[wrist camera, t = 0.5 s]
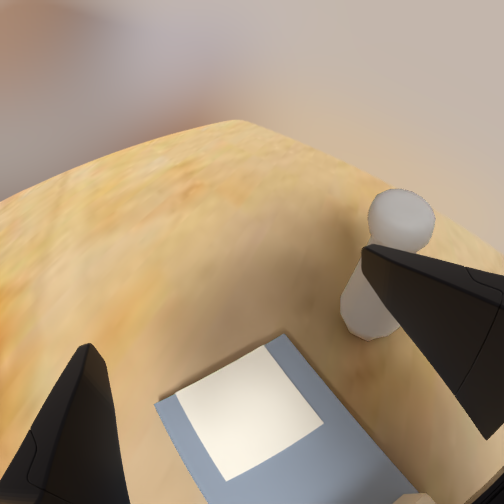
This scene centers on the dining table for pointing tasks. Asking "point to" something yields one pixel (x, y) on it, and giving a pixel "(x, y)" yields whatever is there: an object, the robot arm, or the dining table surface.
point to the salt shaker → (394, 236)
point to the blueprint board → (278, 437)
